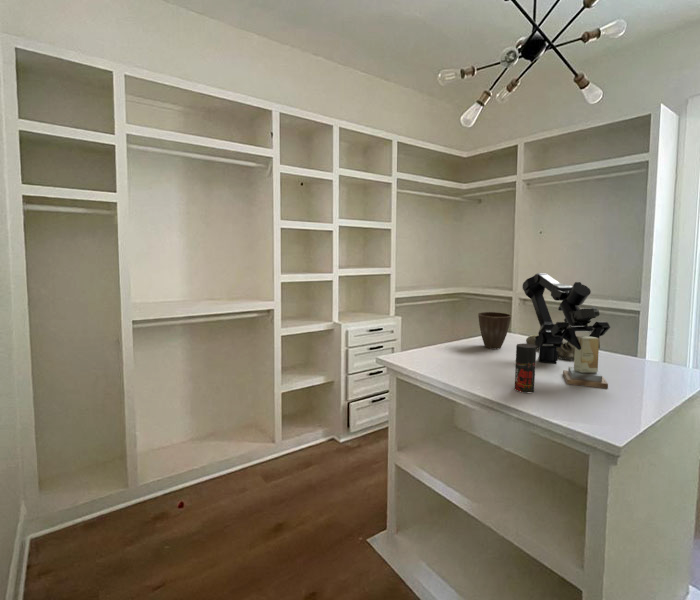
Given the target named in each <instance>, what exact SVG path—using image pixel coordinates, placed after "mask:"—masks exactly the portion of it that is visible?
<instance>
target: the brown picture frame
mask: <svg viewBox="0 0 700 600" xmlns="http://www.w3.org/2000/svg"><path fill="white" fill-rule="evenodd" d="M562 374H563V377H564V380H565V382H566V385H572V384H573V385H574V386H575V385H576V386H582V385H584V387H590V388H591V387H593V388H602V389H608V388H609V383H608V382H607V381H606V379H605V378H604V377H603V375H602V374H601V372H600V371H599V370H598V372H597V373H592V372H585V373H581V372H579V371H576V370H574V366H568V370H562Z"/></svg>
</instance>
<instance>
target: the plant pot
mask: <svg viewBox="0 0 700 600" xmlns="http://www.w3.org/2000/svg"><path fill="white" fill-rule="evenodd" d="M477 315H478V316H477V317H478V325H479V330H480V335H481V339H482V342H483V346H484V348H487V349H491V348H496V349H495V350H498V349H497V348H499V349H501V348H502V346H503V345H504V342H505V340H506V337H507V335H508V332H509V328H510V324H511V321H512V320H511V319H512V315H511V314H510V313H505V312H504V313H503V312H495V311H484V312H479V313H478V314H477Z"/></svg>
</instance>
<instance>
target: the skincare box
mask: <svg viewBox="0 0 700 600" xmlns="http://www.w3.org/2000/svg"><path fill="white" fill-rule="evenodd" d="M576 337H577V339H578V341H579V343H580V346H581V349H580V350H578V349H577V348H576V347H575V355H574V360H573V367H574V370H576V371H579V372H581V373H585V372H592V373H597V372H598V371H599V353H600V351H599V350H600V348H599V341H600V337H599V338H596V337H592V336H589V335H588V336H584V335H581V336H580V335H579V336H577V335H576Z"/></svg>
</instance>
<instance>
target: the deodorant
mask: <svg viewBox="0 0 700 600" xmlns="http://www.w3.org/2000/svg"><path fill="white" fill-rule="evenodd" d="M515 349H516V350H515V370H514V371H515V372H514V390H515V389H516V390H518V391H521V392H520V393H522V392H533V393H534V392H535V383H536V382H535V380H536V377H535V376H536V359H537V358H536V357H537V349H536V346H535V345H531V344H527V343H517V344H516V348H515ZM516 390H515V391H516ZM518 391H517V392H518Z"/></svg>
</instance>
